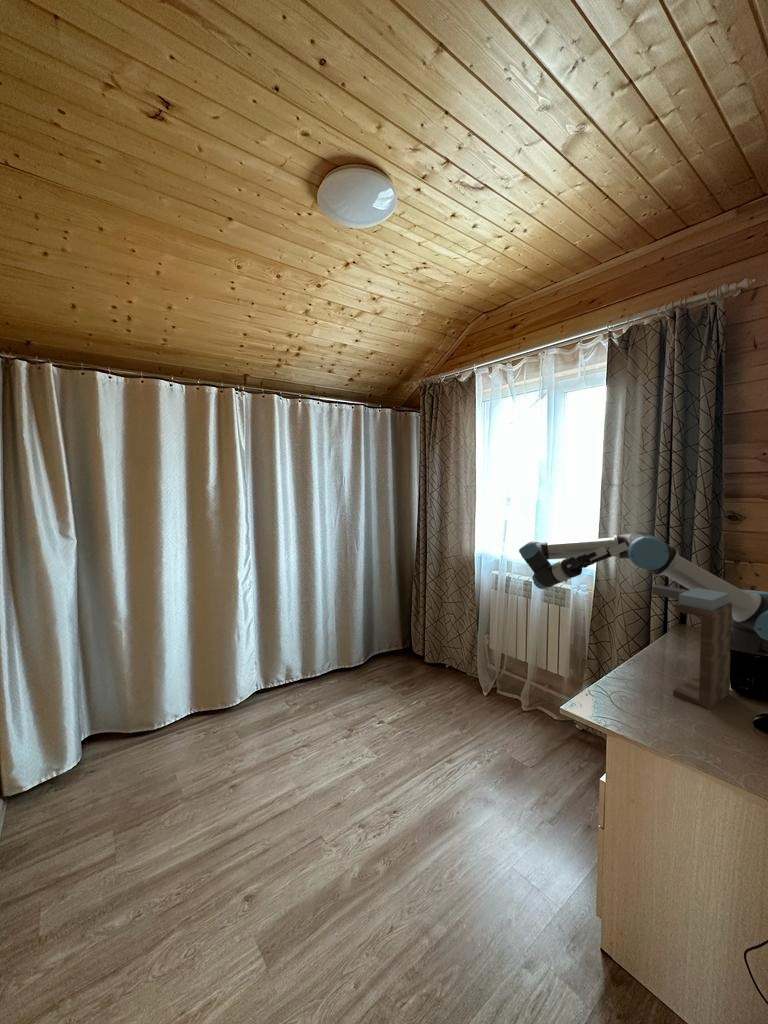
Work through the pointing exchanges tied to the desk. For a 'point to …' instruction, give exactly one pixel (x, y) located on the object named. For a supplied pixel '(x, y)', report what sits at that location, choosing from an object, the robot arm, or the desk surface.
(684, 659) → the desk surface
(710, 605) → the grey toy mallet
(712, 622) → the shelf stand
